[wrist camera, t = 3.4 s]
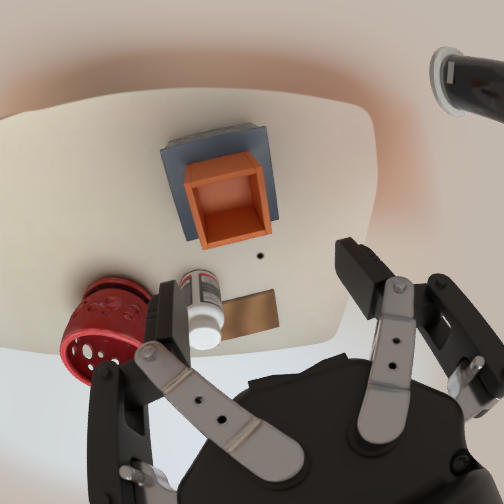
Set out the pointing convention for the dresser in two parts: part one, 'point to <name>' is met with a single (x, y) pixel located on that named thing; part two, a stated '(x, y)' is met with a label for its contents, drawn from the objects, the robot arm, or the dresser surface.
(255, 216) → the orange tub
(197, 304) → the pill bottle
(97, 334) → the flower pot
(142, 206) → the dresser surface
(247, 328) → the cork mat
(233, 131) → the blue tin
